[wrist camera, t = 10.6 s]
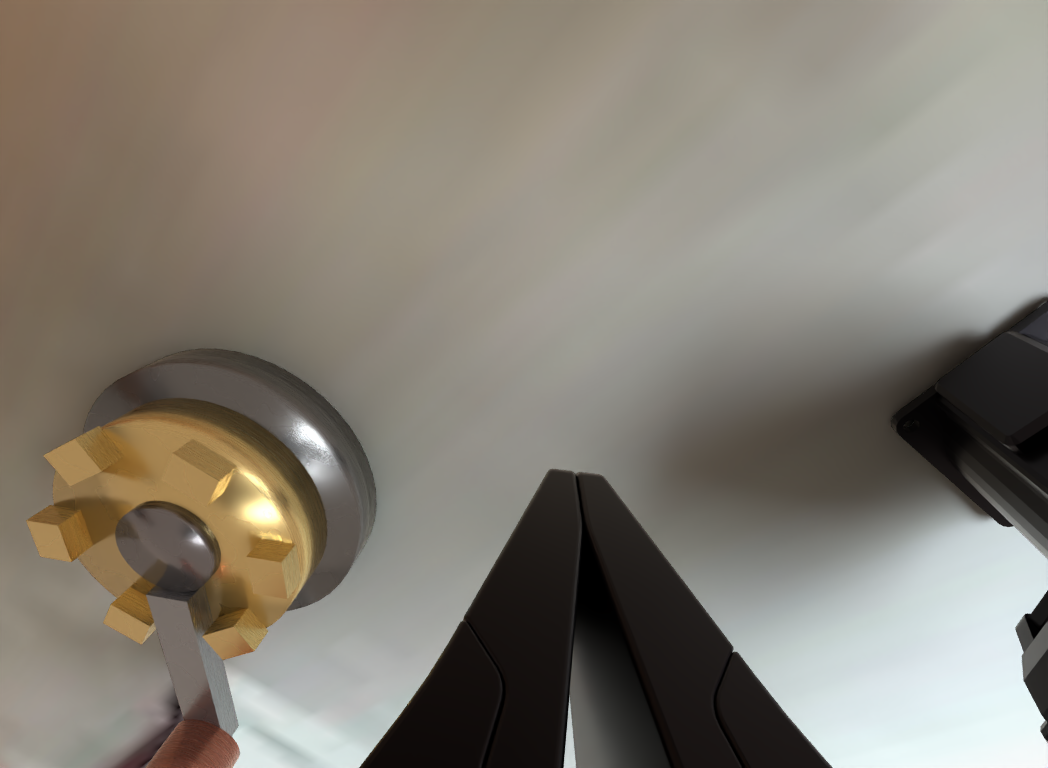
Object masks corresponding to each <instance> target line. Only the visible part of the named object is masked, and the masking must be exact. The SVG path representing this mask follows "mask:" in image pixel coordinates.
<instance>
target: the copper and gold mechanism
mask: <svg viewBox="0 0 1048 768" xmlns="http://www.w3.org/2000/svg"><path fill="white" fill-rule="evenodd" d="M43 456H44V457H45V458H46V459H47V460H48V462H49V463H50V464H51V465H52V466H53V467H54V468H55V470H56V471H55V476H54V481H53V501H54V506H53V505H49V506H48V507H46V508H45V509H43V510H42V511H40V512H39V513H37V514H35V515H34V516H32V517H31V518H29V519H28V520H26V522H27V524H28V527H29V529H30V532H31V534H32V537H33V539H34V542H35V544H36V547H37V549H38V552H39V554H40V557H45V558H51V559H57V560H63V561H68V562H72V561H73V560H75V559H76V558H77V557H78V559H79V560H80V562H81V563H82V564H83V565H84V567H85V568H86V569H87V570H88V571H89V572H90V574H91V575H92V576H93V577H94V578H95V579H96V580H97V581H98V582H99V583H100V584H101V585H102V586H103V587H105V588H106V589H107V590H108V591H109V592H110V593H112V594H113V595H114V596H115V597H116V598H117V599H116V600H115V601H114V602H113V603H112V604H111V605H110V608H109V610H108V612H107V615H106V617H105V620H104V622H103V623H104V624H106V625H107V626H109V627H111V628H113V629H114V630H116V631H118V632H120V633H122V634H123V635H125V636H127V637H129V638H131V639H132V640H134V641H136V642H138V643H139V644H141V645H142V644H143V643H144V642H145V640H146V639H147V638H148V637H149V636H150V635H151V634H152V633H153V632H154V631H155V630H157V633H158V636H159V640H160V643H161V646H162V649H163V653H164V656H165V659H166V662H167V666H168V669H169V672H170V676H171V679H172V682H173V685H174V689H175V692H176V695H177V699H178V702H179V705H180V708H181V712H182V715H183V718H184V721H182V722H180V723H179V724H178V725H177V726H176V728H175V729H174V730H173V732H172V733H171V734H170V736H169V737H168V738H167V740H166V741H165V742H164V744H163V745H162V746H161V748H160V749H159V750H158V752H157V753H156V754H155V755H154V757H153V758H152V759H151V761H150V762H149V763H148V765H147V766H146V767H145V768H233V766H234V764H235V763H236V761H237V759H238V758H239V755H240V751H239V747H238V745H237V743H236V742H235V740H234V739H233V738H232V735H233V734H234V732H235V731H236V729H237V727H238V726H239V725H238V721H237V717H236V713H235V708H234V704H233V700H232V696H231V692H230V688H229V684H228V680H227V676H226V671H225V667H224V663H223V660H224V659H228V658H232V657H235V656H239V655H242V654H246V653H250V652H253V651H255V649H256V648H257V647H258V645H259V644H260V642H261V641H262V639H263V638H264V637H265V635H266V634H267V632H268V630H267V629H266V628H267V627H269V626H270V625H272V624H273V623H275V622H276V621H277V620H278V619H279V618H280V617H281V616H282V615H283V614H284V613H285V611H286V610H287V609H288V607H289V606H290V605H291V603H292V602H293V600H294V599H295V597H296V596H297V595H298V593H299V592H300V590H301V589H302V588H303V586H304V585H305V583H306V582H307V580H308V579H309V578H310V576H311V575H312V573H313V572H314V571H315V569H316V568H317V566H318V564H319V563H320V561H321V559H322V557H323V554H324V551H325V548H326V542H327V519H326V514H325V508H324V505H323V502H322V499H321V497H320V494H319V492H318V490H317V488H316V486H315V484H314V482H313V480H312V478H311V477H310V475H309V474H308V472H307V470H306V469H305V467H304V466H303V465H302V464H301V462H300V461H299V460H298V459H297V457H296V456H295V455H294V454H293V453H292V452H291V451H290V450H289V449H288V448H287V447H286V446H285V445H284V444H283V443H282V442H281V441H280V440H279V439H278V438H276V437H275V436H274V435H273V434H272V433H271V432H269V431H268V430H266V429H265V428H263V427H262V426H261V425H259V424H258V423H256V422H255V421H253V420H251V419H249V418H247V417H246V416H244V415H242V414H240V413H238V412H236V411H233V410H231V409H229V408H226V407H224V406H221V405H217V404H214V403H211V402H207V401H202V400H197V399H189V398H167V399H160V400H156V401H151V402H148V403H146V404H143V405H141V406H138V407H137V408H135V409H133V410H131V411H129V412H128V413H126V414H124V415H122V416H120V417H119V418H117V419H115V420H113V421H111V422H110V423H108V424H106V425H104V426H102V427H100V426H98V427H96V428H94V429H92V430H90V431H88V432H86V433H84V434H82V435H80V436H78V437H77V438H75V439H73V440H71V441H69V442H67V443H65V444H63V445H61V446H60V447H58V448H56V449H54V450H52V451H51V452H49V453H47V454H45V455H43Z"/></svg>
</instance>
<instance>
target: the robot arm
mask: <svg viewBox="0 0 1048 768" xmlns="http://www.w3.org/2000/svg"><path fill="white" fill-rule="evenodd" d="M909 420H914V423H913V424H912V425H911V426H909V427H904V424H905V423H906V422H907V421H909ZM891 426H892V428H893V429H894V430H895V431H896V432H897V433H898V435H899V436H901V437H902V438H903V439H904V440H905V441H906V442H907V443H909V444H910V445H911V446H912V447H913V448H914V449H915V450H916V451H918V452H919V453H920V454H921V455H922V456H923V457H924V458H925V459H927V460H928V461H929V462H930V463H931V464H932V465H933V466H934V467H936V468H937V469H938V470H939V471H940V472H941V473H942V474H943V475H945V476H946V477H947V478H948V479H949V480H950V481H951V482H952V483H954V484H955V485H956V486H957V487H958V488H959V489H960V490H961V491H963V492H964V493H965V494H966V495H967V496H968V497H969V498H970V499H972V500H973V501H974V502H975V503H976V504H977V505H978V506H979V507H981V508H982V509H983V510H984V511H985V512H986V513H987V514H989V515H990V516H991V517H992V518H993V519H994V520H995V521H996V522H998V523H999V524H1000V525H1002V526H1006V527H1012V526H1014V527H1015V528H1016V529H1017V530H1018V531H1019V532H1020V533H1021V534H1022V535H1023V536H1024V537H1026V538H1027V539H1028V540H1029V541H1030V542H1031V543H1032V544H1033V545H1034V546H1035V547H1036V548H1037V549H1038V550H1039V551H1040V552H1041V553H1042V554H1043V555H1044V556H1045V557H1046V558H1047V559H1048V301H1047V302H1046V303H1045V304H1043V305H1042V306H1041V307H1039V308H1038V309H1036V310H1035V311H1034V312H1032V313H1031V314H1030V315H1028V316H1027V317H1026V318H1024V319H1023V320H1022V321H1020V322H1019V323H1018V324H1016V325H1015V326H1013V327H1012V328H1011V329H1009V330H1008V331H1007V332H1004V333H1002V334H1000V335H999V336H998V337H996V338H995V339H994V340H992V341H991V342H990V343H988V344H987V345H986V346H984V347H983V348H982V349H980V350H979V351H978V352H976V353H975V354H973V355H972V356H971V357H969V358H968V359H967V360H965V361H964V362H963V363H961V364H960V365H959V366H957V367H956V368H955V369H953V370H952V371H950V372H949V373H948V374H946V375H945V376H944V377H942V378H941V379H940V380H938V382H937V383H936V384H935V385H934V386H932V387H931V388H930V389H928V390H927V391H926V392H924V393H923V394H921V395H920V396H919V397H917V398H916V399H915V400H913V401H912V402H911V403H909V404H908V405H907V406H905V407H904V408H903V409H901V410H900V411H898V412H897V413H896V414H895V415H894V416H893V418H892V420H891ZM1016 632H1017V635H1018V638H1019V641H1020V643H1021V646H1022V649H1023V652H1024V654H1023V655H1022V666H1023V679H1024V682H1025V684H1026V686H1027V688H1028V690H1029V692H1030V694H1031V696H1032V697H1033V699H1034V701H1035V703H1036V705H1037V707H1038V709H1039V711H1040V713H1041V715H1042V716H1043V717H1044V719H1045V720H1046V721H1045V722H1044V723H1043V724H1042V725H1041V733H1042V735H1043V736H1044V738H1045V740H1046V741H1047V743H1048V591H1047V592H1046V594H1045V595H1044V597H1043V598H1042V599H1041V601H1040V602H1039V603H1038V605H1037V606H1036V608H1035V609H1034V610H1033V612H1032V613H1031V614H1025V615H1024V616H1023V617H1022V619H1021V620H1020V622H1019V623H1018V625H1017V626H1016ZM732 652H733V646H732V645H731V643H730V642H729V641H728V639H727V638H726V637H725V635H724V634H723V633H722V631H721V630H720V629H719V627H718V626H717V625H716V623H715V622H714V621H713V620H712V618H711V617H710V616H709V614H708V613H707V612H706V610H705V609H704V608H703V606H702V605H701V604H700V602H699V601H698V600H697V599H696V597H695V596H694V595H693V593H692V592H691V591H690V589H689V588H688V587H687V585H686V584H685V583H684V581H683V580H682V579H681V577H680V576H679V575H678V574H677V572H676V571H675V570H674V568H673V567H672V566H671V564H670V563H669V562H668V560H667V559H666V558H665V556H664V555H663V554H662V552H661V551H660V550H659V549H658V547H657V546H656V545H655V543H654V542H653V541H652V539H651V538H650V537H649V535H648V534H647V533H646V531H645V530H644V529H643V528H642V526H641V525H640V524H639V522H638V521H637V520H636V518H635V517H634V516H633V514H632V513H631V512H630V510H629V509H628V508H627V506H626V505H625V504H624V503H623V501H622V500H621V499H620V497H619V496H618V495H617V493H616V492H615V491H614V489H613V488H612V487H611V485H610V484H609V483H608V481H607V480H606V479H605V478H604V477H603V476H602V475H599V474H592V473H584V472H579V473H577V474H576V475H575V473H574V472H573V471H567V470H559V469H550V470H549V471H548V472H547V474H546V475H545V477H544V479H543V481H542V482H541V484H540V486H539V488H538V489H537V491H536V493H535V495H534V496H533V498H532V500H531V501H530V503H529V505H528V507H527V508H526V510H525V512H524V514H523V515H522V517H521V519H520V521H519V522H518V524H517V526H516V527H515V529H514V531H513V533H512V534H511V536H510V538H509V540H508V541H507V543H506V545H505V547H504V548H503V550H502V552H501V554H500V555H499V557H498V559H497V560H496V562H495V564H494V566H493V567H492V569H491V571H490V573H489V574H488V576H487V578H486V580H485V581H484V583H483V585H482V586H481V588H480V590H479V592H478V593H477V595H476V597H475V599H474V600H473V602H472V604H471V606H470V607H469V609H468V611H467V613H466V614H465V616H464V619H463V621H462V622H460V624H459V626H458V627H457V629H456V631H455V633H454V634H453V636H452V638H451V640H450V641H449V643H448V645H447V646H446V648H445V649H444V651H443V653H442V654H441V656H440V657H439V659H438V661H437V662H436V664H435V665H434V667H433V669H432V670H431V672H430V673H429V675H428V677H427V678H426V679H425V681H424V682H423V684H422V685H421V686H420V688H419V689H418V691H417V692H416V693H415V695H414V696H413V698H412V699H411V700H410V702H409V703H408V704H407V706H406V707H405V709H404V710H403V711H402V713H401V714H400V716H399V717H398V718H397V719H396V721H395V722H394V723H393V725H392V726H391V727H390V728H389V730H388V731H387V732H386V734H385V735H384V736H383V738H382V739H381V740H380V741H379V743H378V744H377V745H376V747H375V748H374V749H373V751H372V752H371V753H370V754H369V756H368V757H367V758H366V760H365V761H364V762H363V763H362V765H361V766H360V767H359V768H563V767H564V755H565V743H566V731H567V719H568V707H569V694H570V704H571V715H572V726H573V738H574V749H575V760H576V768H832V766H831V765H830V764H829V763H828V762H827V761H826V760H825V759H824V757H823V756H822V755H821V754H820V753H819V752H818V751H817V749H816V748H815V747H814V746H813V745H812V744H811V742H810V741H809V740H808V739H807V738H806V737H805V736H804V734H803V733H802V732H801V731H800V730H799V729H798V727H797V726H796V725H795V724H794V723H793V722H792V720H791V719H790V718H789V717H788V716H787V715H786V713H785V712H784V711H783V710H782V708H781V707H780V706H779V705H778V703H777V702H776V701H775V700H774V698H773V697H772V696H771V695H770V693H769V692H768V691H767V690H766V688H765V687H764V686H763V685H762V683H761V682H760V681H759V680H758V678H757V677H756V676H755V674H754V673H753V672H752V670H751V669H750V668H749V666H748V665H747V664H746V663H745V661H744V660H743V659H742V657H741V656H740V655H739V653H738V652H733V653H732Z"/></svg>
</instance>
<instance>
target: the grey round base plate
mask: <svg viewBox="0 0 1048 768" xmlns="http://www.w3.org/2000/svg"><path fill="white" fill-rule="evenodd" d="M167 398H189V399H197V400H202V401H207V402H211V403H214V404H217V405H221V406H224V407H226V408H229V409H231V410H233V411H236V412H238V413H240V414H242V415H244V416H246V417H247V418H249V419H251V420H253V421H255V422H256V423H258V424H259V425H261V426H262V427H263V428H265V429H266V430H268V431H269V432H271V433H272V434H273V435H274V436H275V437H276V438H278V439H279V440H280V441H281V442H282V443H283V444H284V445H285V446H286V447H287V448H288V449H289V450H290V451H291V452H292V453H293V454H294V455H295V456H296V457H297V459H298V460H299V461H300V462H301V464H302V465H303V466H304V467H305V469H306V470H307V472H308V474H309V475H310V477H311V478H312V480H313V482H314V484H315V486H316V488H317V490H318V492H319V494H320V497H321V499H322V502H323V505H324V508H325V514H326V519H327V542H326V548H325V551H324V554H323V557H322V559H321V561H320V563H319V564H318V566H317V568H316V569H315V571H314V572H313V573H312V575H311V576H310V578H309V579H308V580H307V582H306V583H305V585H304V586H303V588H302V589H301V590H300V592H299V593H298V595H297V596H296V597H295V599H294V600H293V602H292V603H291V605H290V606H289V607H288V609H287V610H286V611H289V610H294V609H298V608H301V607H305V606H308V605H310V604H312V603H314V602H317V601H319V600H320V599H322V598H323V597H325V596H326V595H328V594H329V593H331V592H332V591H333V590H334V589H335V588H336V587H337V586H338V585H339V584H340V583H341V581H342V580H343V579H344V577H345V576H346V575H347V573H348V571H349V570H350V568H351V567H352V565H353V563H354V562H355V560H356V559H357V557H358V555H359V554H360V552H361V551H362V549H363V547H364V546H365V544H366V542H367V540H368V538H369V536H370V534H371V531H372V528H373V524H374V521H375V514H376V489H375V484H374V479H373V474H372V471H371V468H370V465H369V462H368V459H367V457H366V455H365V453H364V451H363V449H362V447H361V444H360V443H359V441H358V439H357V438H356V436H355V435H354V433H353V431H352V430H351V428H350V427H349V426H348V424H347V423H346V422H345V420H344V419H343V418H342V417H341V415H340V414H339V413H338V412H337V411H336V410H335V409H334V408H333V407H332V406H331V405H330V404H329V403H328V402H327V401H326V400H325V399H324V398H323V397H322V396H321V395H320V394H319V393H317V392H316V391H315V390H314V389H313V388H311V387H310V386H309V385H308V384H306V383H305V382H303V381H302V380H300V379H299V378H297V377H296V376H294V375H293V374H291V373H289V372H287V371H285V370H283V369H282V368H280V367H278V366H276V365H274V364H272V363H269V362H267V361H264V360H262V359H259V358H256V357H254V356H250V355H246V354H243V353H239V352H235V351H228V350H220V349H195V350H188V351H182V352H178V353H175V354H172V355H169V356H166V357H164V358H162V359H160V360H158V361H156V362H154V363H152V364H149V365H147V366H145V367H143V368H141V369H139V370H137V371H135V372H133V373H131V374H129V375H127V376H125V377H123V378H121V379H119V380H117V381H116V382H114V383H113V384H112V385H110V386H109V387H108V388H107V389H105V390H104V392H103V393H102V394H101V395H100V396H99V397H98V398H97V400H96V401H95V403H94V405H93V406H92V408H91V410H90V412H89V414H88V417H87V420H86V423H85V426H84V432H83V434H84V433H86V432H88V431H90V430H92V429H94V428H96V427H98V426H100V427H102V426H104V425H106V424H108V423H110V422H111V421H113V420H115V419H117V418H119V417H120V416H122V415H124V414H126V413H128V412H129V411H131V410H133V409H135V408H137V407H138V406H141V405H143V404H146V403H148V402H151V401H156V400H160V399H167Z"/></svg>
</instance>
